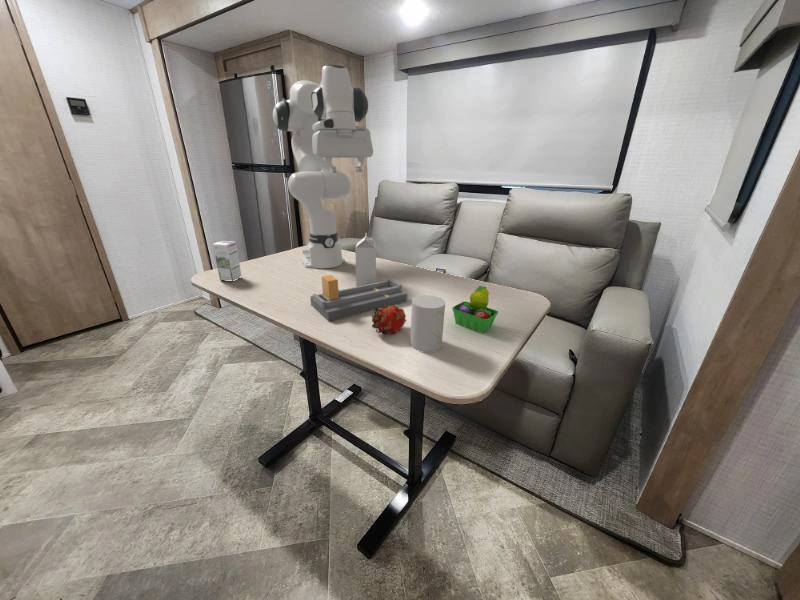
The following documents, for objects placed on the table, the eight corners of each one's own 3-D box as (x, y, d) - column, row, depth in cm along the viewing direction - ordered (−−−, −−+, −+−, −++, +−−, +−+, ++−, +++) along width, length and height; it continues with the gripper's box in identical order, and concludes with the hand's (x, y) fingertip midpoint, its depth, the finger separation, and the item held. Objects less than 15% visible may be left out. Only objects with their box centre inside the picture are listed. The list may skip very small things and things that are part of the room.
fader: (321, 298, 101) (320, 276, 98) (333, 296, 103) (332, 274, 100) (328, 304, 97) (326, 281, 94) (340, 301, 99) (339, 279, 97)
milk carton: (356, 287, 121) (354, 236, 113) (357, 280, 127) (356, 232, 120) (375, 287, 121) (375, 236, 113) (376, 281, 127) (375, 232, 120)
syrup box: (242, 277, 127) (236, 240, 121) (233, 282, 122) (226, 244, 116) (229, 276, 128) (222, 239, 122) (219, 281, 122) (211, 243, 117)
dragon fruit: (369, 343, 86) (399, 334, 95) (389, 335, 81) (420, 326, 89) (359, 313, 88) (390, 307, 96) (379, 303, 82) (410, 297, 91)
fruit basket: (449, 323, 95) (452, 287, 91) (464, 314, 101) (468, 280, 97) (484, 336, 88) (490, 298, 84) (498, 325, 95) (504, 289, 90)
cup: (438, 354, 79) (442, 310, 75) (406, 349, 81) (408, 305, 77) (443, 339, 87) (447, 297, 82) (414, 334, 89) (416, 293, 84)
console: (310, 305, 104) (308, 290, 102) (384, 288, 120) (385, 276, 118) (327, 321, 94) (326, 306, 92) (407, 301, 109) (407, 287, 107)
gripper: (364, 128, 110) (368, 172, 114) (307, 125, 99) (313, 174, 103) (374, 125, 105) (378, 170, 109) (315, 121, 94) (322, 172, 98)
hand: (346, 172), depth 106 cm, fingers open, 8 cm apart
